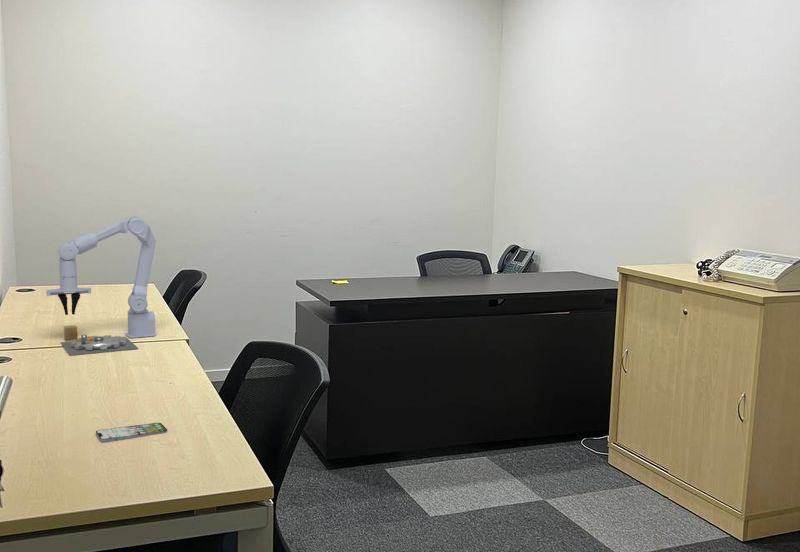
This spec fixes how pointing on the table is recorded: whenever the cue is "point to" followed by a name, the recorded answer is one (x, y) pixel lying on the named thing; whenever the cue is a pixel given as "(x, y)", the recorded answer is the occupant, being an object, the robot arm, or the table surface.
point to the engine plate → (73, 351)
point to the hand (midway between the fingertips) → (69, 314)
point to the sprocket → (98, 342)
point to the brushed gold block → (70, 333)
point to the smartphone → (130, 432)
